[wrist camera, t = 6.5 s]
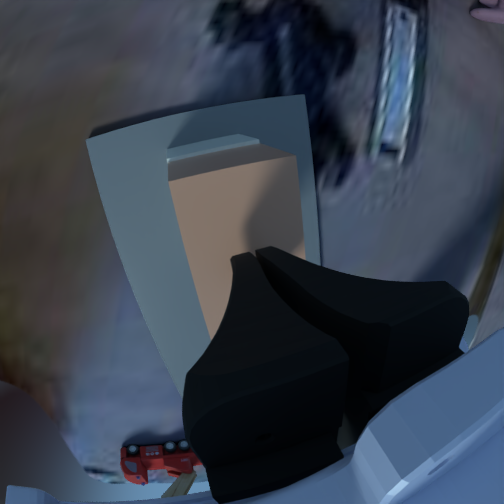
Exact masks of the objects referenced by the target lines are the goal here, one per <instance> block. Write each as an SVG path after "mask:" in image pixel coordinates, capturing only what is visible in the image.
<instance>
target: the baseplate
mask: <svg viewBox="0 0 504 504" xmlns="http://www.w3.org/2000/svg"><path fill="white" fill-rule="evenodd" d="M235 134H241V135H245V136H249V137H252V138H256V139H259V142H260V143H261V144H264V145H267V146H270V147H273V148H276V149H279V150H282V151H285V152H288V153H291V154H294V155H296V160H297V169H298V178H299V188H300V198H301V209H302V220H303V232H304V244H305V258H306V261H309V262H311V263H314V264H317V265H320V248H319V231H318V217H317V204H316V192H315V181H314V170H313V160H312V150H311V141H310V133H309V124H308V116H307V108H306V101H305V94H302V95H291V96H281V97H273V98H264V99H257V100H250V101H243V102H237V103H230V104H224V105H219V106H213V107H208V108H203V109H198V110H193V111H188V112H183V113H179V114H175V115H170V116H166V117H162V118H158V119H154V120H150V121H146V122H142V123H139V124H135V125H131V126H128V127H124V128H121V129H118V130H114V131H111V132H108V133H105V134H101V135H98V136H95V137H92V138H89V139H86V144H87V148H88V152H89V156H90V160H91V164H92V168H93V172H94V175H95V179H96V183H97V186H98V190H99V193H100V197H101V200H102V203H103V207H104V210H105V213H106V217H107V220H108V223H109V226H110V229H111V232H112V235H113V238H114V241H115V244H116V247H117V250H118V253H119V255H120V258H121V261H122V264H123V266H124V269H125V272H126V274H127V277H128V280H129V282H130V285H131V287H132V290H133V293H134V295H135V298H136V300H137V302H138V305H139V307H140V310H141V312H142V314H143V317H144V319H145V322H146V324H147V326H148V328H149V331H150V333H151V335H152V337H153V340H154V342H155V344H156V346H157V348H158V351H159V353H160V355H161V357H162V359H163V361H164V363H165V365H166V367H167V369H168V371H169V373H170V375H171V378H172V379H173V381H174V383H175V385H176V387H177V389H178V391H179V393H180V395H181V397H182V399H183V391H184V384H185V378H186V373H187V372H188V371H189V370H190V369H191V368H192V367H193V365H194V364H195V363H196V362H197V361H198V359H199V358H200V357H201V356H202V354H203V353H204V352H205V350H206V348H207V347H208V345H209V344H210V342H211V339H210V335H209V332H208V329H207V326H206V322H205V319H204V316H203V312H202V309H201V305H200V302H199V299H198V295H197V292H196V288H195V285H194V281H193V277H192V274H191V270H190V267H189V263H188V259H187V255H186V252H185V248H184V244H183V240H182V236H181V232H180V228H179V224H178V220H177V216H176V212H175V208H174V204H173V200H172V196H171V191H170V187H169V183H168V163H167V149H170V148H174V147H178V146H183V145H187V144H191V143H196V142H200V141H205V140H210V139H214V138H219V137H225V136H230V135H235Z"/></svg>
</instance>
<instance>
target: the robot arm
mask: <svg viewBox="0 0 504 504" xmlns="http://www.w3.org/2000/svg"><path fill="white" fill-rule="evenodd" d="M255 254H256V257H255V256H254V255H253V254H252V253H250V252H245V253H241V254H238V255H234V256H232V257H231V259H230V262H231V267H232V272H233V276H232V286H231V291H230V296H229V301H228V304H227V308H226V310H225V313H224V316H223V318H222V321H221V323H220V325H219V328H218V330H217V332H216V334H215V335H214V337H213V339H212V340H211V342H210V344H209V345H208V347H207V348H206V350H205V352H204V353H203V354H202V356H201V357H200V358H199V359H198V361H197V362H196V363H195V364H194V365H193V367H192V368H191V369H190V370H189V371H188V372H187V373H186V378H185V384H184V391H183V402H182V417H183V425H184V431H185V437H186V440H187V442H188V445H189V446H190V448H191V449H192V451H193V452H194V453H195V455H196V456H197V458H198V459H199V460H200V462H201V463H202V464H203V466H204V467H205V469H206V473H207V477H208V482H209V486H210V491H205V492H199V493H194V494H188V495H181V496H174V497H167V498H158V499H149V500H137V501H121V502H68V501H58V500H57V499H56V498H54V497H53V496H52V495H50V494H49V493H47V492H44V491H43V490H40V489H36V488H30V487H20V486H13V485H9V486H7V493H6V502H5V504H504V327H503V328H501V329H499V330H497V331H495V332H494V333H493V334H491V335H490V336H489V337H487V338H486V339H484V340H483V341H482V342H480V343H479V344H478V345H476V346H475V347H473V348H472V349H470V350H469V349H468V346H467V343H466V341H465V339H464V337H463V334H464V331H465V327H466V324H467V321H468V316H469V302H468V300H467V298H466V296H464V295H463V294H462V293H461V292H459V291H458V290H457V289H455V288H454V287H453V286H451V285H450V284H449V283H448V282H446V281H434V282H399V281H386V280H378V279H371V278H364V277H359V276H354V275H350V274H346V273H342V272H338V271H335V270H331V269H328V268H325V267H322V266H320V265H317V264H314V263H311V262H309V261H306V260H304V259H302V258H299V257H297V256H295V255H292V254H290V253H288V252H285V251H283V250H281V249H279V248H276V247H273V246H268V247H265V248H261V249H257V250H255Z"/></svg>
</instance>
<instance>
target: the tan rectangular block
mask: <svg viewBox="0 0 504 504" xmlns="http://www.w3.org/2000/svg"><path fill="white" fill-rule="evenodd" d="M168 183H169V187H170V191H171V196H172V200H173V204H174V208H175V212H176V216H177V220H178V224H179V228H180V232H181V236H182V240H183V244H184V248H185V252H186V255H187V259H188V263H189V267H190V270H191V274H192V277H193V281H194V285H195V288H196V292H197V295H198V299H199V302H200V305H201V309H202V312H203V316H204V319H205V322H206V326H207V329H208V332H209V335H210V339H211V340H212V339H213V337H214V335H215V334H216V332H217V330H218V328H219V325H220V323H221V321H222V318H223V316H224V313H225V310H226V308H227V304H228V301H229V296H230V291H231V286H232V276H233V272H232V267H231V262H230V259H231V257H232V256H234V255H238V254H241V253H245V252H250V253H252V254H253V255H254V256H255V257H256V254H255V250H257V249H261V248H265V247H268V246H273V247H276V248H279V249H281V250H283V251H285V252H288V253H290V254H292V255H295V256H297V257H299V258H302V259H304V260H306V258H305V244H304V232H303V220H302V209H301V198H300V188H299V178H298V169H297V160H296V155H294V154H291V153H288V152H285V151H282V150H279V149H276V148H273V147H270V146H267V145H264V144H261V143H259V144H253V145H247V146H242V147H236V148H231V149H226V150H221V151H216V152H211V153H207V154H202V155H197V156H193V157H188V158H184V159H180V160H176V161H171V162H168Z"/></svg>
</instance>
